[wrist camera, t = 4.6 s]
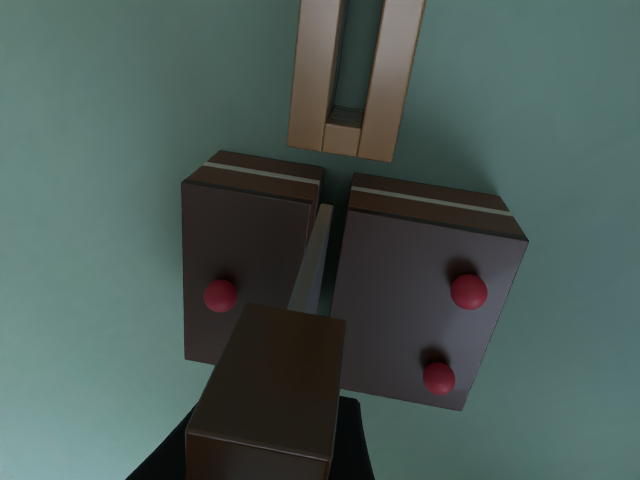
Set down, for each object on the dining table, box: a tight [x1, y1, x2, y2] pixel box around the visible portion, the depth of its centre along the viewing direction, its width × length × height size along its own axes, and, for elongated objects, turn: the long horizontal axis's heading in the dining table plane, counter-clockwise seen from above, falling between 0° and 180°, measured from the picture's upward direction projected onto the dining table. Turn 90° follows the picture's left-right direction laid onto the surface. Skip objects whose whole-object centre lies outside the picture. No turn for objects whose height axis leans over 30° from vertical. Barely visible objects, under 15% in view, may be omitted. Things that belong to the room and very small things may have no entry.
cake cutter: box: [185, 204, 348, 480], centre depth 11 cm, size 2×7×8 cm, turn 172°
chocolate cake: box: [329, 173, 529, 411], centre depth 18 cm, size 6×8×5 cm
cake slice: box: [181, 151, 325, 365], centre depth 18 cm, size 4×8×5 cm, turn 172°
